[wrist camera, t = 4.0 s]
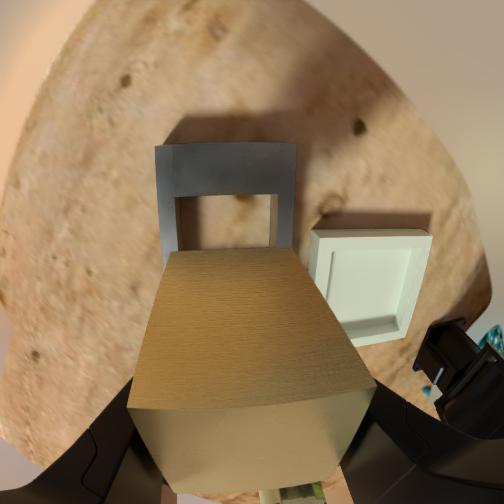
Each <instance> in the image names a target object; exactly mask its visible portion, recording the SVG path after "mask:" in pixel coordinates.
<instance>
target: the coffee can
mask: <svg viewBox="0 0 504 504" xmlns="http://www.w3.org/2000/svg"><path fill="white" fill-rule="evenodd" d="M259 496H260V502H261V504H327V503H326V499H325V496H324V493H323V489H322V486H321V482H320V481H318V482H313V483H308V484H303V485H297V486H292V487H285V488H279V489H271V490H263V491H259Z"/></svg>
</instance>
